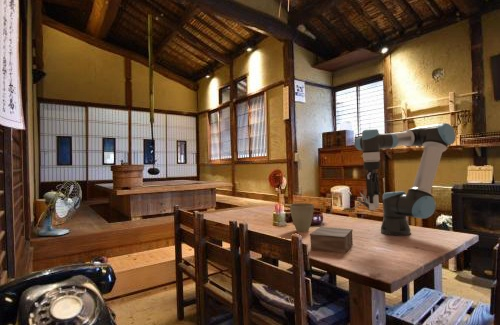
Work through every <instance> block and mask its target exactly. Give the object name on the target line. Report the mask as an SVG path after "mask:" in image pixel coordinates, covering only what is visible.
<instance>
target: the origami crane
mask: <svg viewBox="0 0 500 325" xmlns="http://www.w3.org/2000/svg"><path fill="white" fill-rule="evenodd" d="M363 191H364V194H363V193H362V192H359V194H360V196H361V198H363V200H361V199H359V198H356V202H358V203H359V204H357V205H356V206H354V207H352V208H351V209H357V208H358V207H359V206H361V205H363V206H364V207H366V208H367V209H368V210H369V198H367V196H366V195H367V191H366V188H365V187H363Z"/></svg>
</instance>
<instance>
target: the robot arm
mask: <svg viewBox="0 0 500 325" xmlns="http://www.w3.org/2000/svg"><path fill="white" fill-rule="evenodd" d="M455 141H456V132H455V129H454V127H453V126H452V125H451V124H449V123H447V122H444V123H443V122H442V123H437V124H429V125H421V126H417V127H414V128H410V129H405V130H403V131H400V132H390V133H380V132H379V130H378V129H377V128H371V129H365V130H363V131H362V132H361V136H359V137H357V138H356V139H355V140H354V147H355V148H356V150H358V151H362V155H361V157H362V158H363V159H362V160H363V161H364V162H363V170H367V173H366V174H365V182H366V188H365V189H366V197H368V200H369V209H368V210H369V211H376V210H377V209H380V202H379V200H380V199H379V195H381V193H380V180H379V179H380V178H379V176H380V174H379V172H377V170H380V169H381V161H380V160H381V152H380V151H381V150H382V149H383V150H384V149H390V150H391V149H395V148H396V147H398V146H405V147H423V148H424V149H423V152H422V155H421V158H420V161H419V164H418V169H417V172H416V173H415V174H416V175H415V177H414V181H413V184H412V187H410V188H409V189H408V190H407V192H406V191H405V190H401V191H390V192H389V191H388V192H384V193H383V194H382V211H383V212H382V214H383V220H382V223H381V226H380V233H382V234H385V235H389V236H390V235H391V236H408V235H410V234H411V228H410V225H409V223H408V222H409V221H408V220H407V217H412V218H415V219H428V218H430V217H431V216H433V214H434V213H435V211H436V207H437V206H436V200H435V198H434V197H433V196H434V195H433V194H432V188H433V185H434V181H435V178H436V175H437V171H438V168H439V165H440V161H441V158H442V154H443V153H444V152H446V151H447V150H448V146H450V145H453V144H454V143H455Z"/></svg>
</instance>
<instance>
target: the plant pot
mask: <svg viewBox="0 0 500 325" xmlns="http://www.w3.org/2000/svg"><path fill="white" fill-rule="evenodd" d="M314 208H315V204H313V203H304V202H299V203H292V204H289V211H290V216H291V219H292V221H293V226H294V228H295V230H296V232H299V233H307V232H309V230H310V227H311V224H312V220H313V216H314V211H315V210H314Z"/></svg>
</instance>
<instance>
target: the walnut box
mask: <svg viewBox="0 0 500 325" xmlns="http://www.w3.org/2000/svg"><path fill="white" fill-rule="evenodd" d="M309 236H310V237H309V238H310V250H311V251H318V252H325V253H336V254H342V255H346V253H347V252H348V251H349V250H350V249H351V248H352V246H353V245H354V244H353V243H354V241H353V228H341V227H328V226H327V227H326V226H325V227H324V226H319V227H318V228H316V229H314V230H313V231H312V232H310V233H309Z"/></svg>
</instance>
